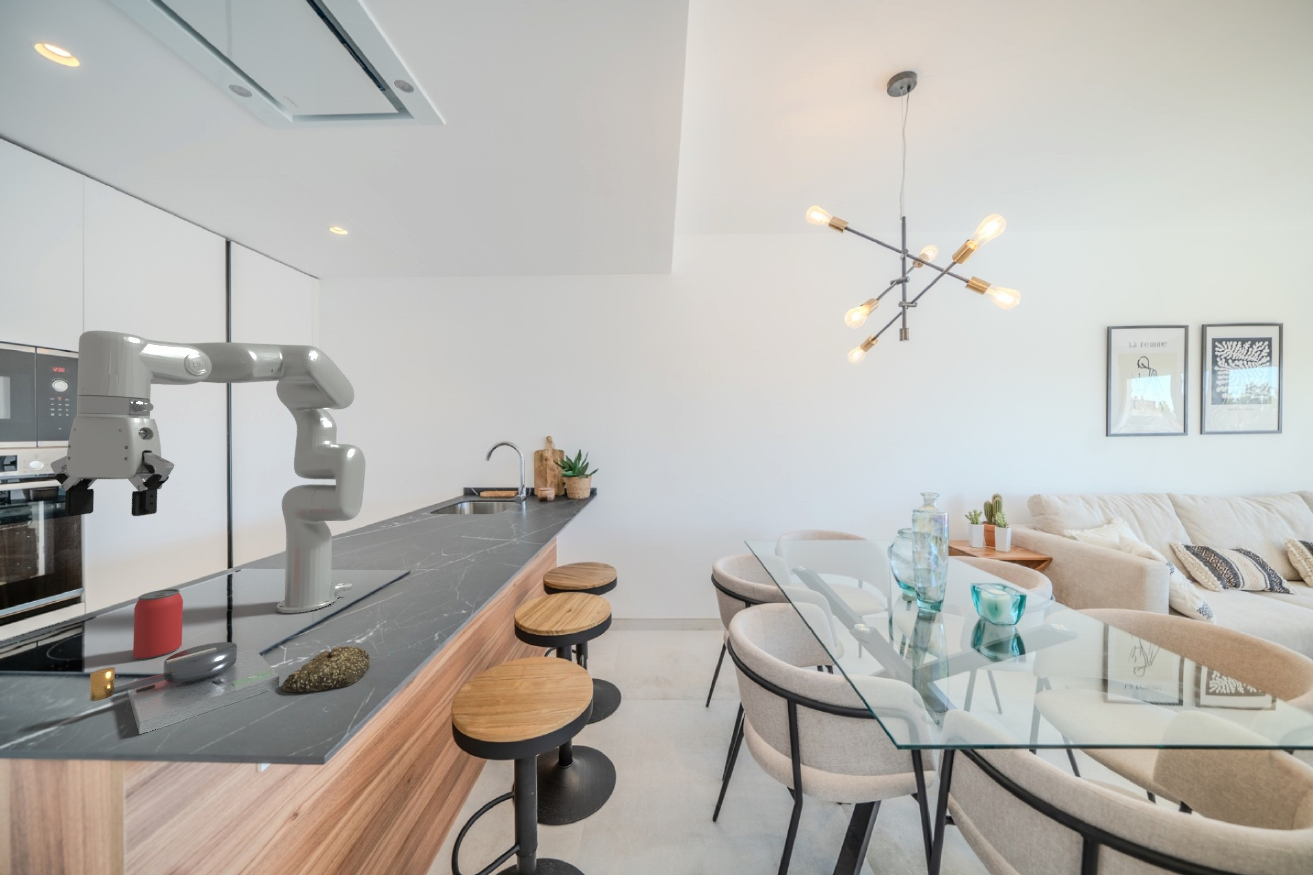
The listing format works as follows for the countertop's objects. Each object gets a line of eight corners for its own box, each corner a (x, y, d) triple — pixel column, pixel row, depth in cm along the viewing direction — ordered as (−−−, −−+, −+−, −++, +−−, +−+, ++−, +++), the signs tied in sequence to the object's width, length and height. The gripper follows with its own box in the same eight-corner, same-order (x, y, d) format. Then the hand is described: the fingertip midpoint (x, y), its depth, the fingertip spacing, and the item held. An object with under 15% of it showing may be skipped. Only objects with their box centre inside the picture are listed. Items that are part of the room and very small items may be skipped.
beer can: (148, 662, 85) (150, 600, 86) (123, 658, 87) (125, 597, 87) (190, 646, 92) (191, 589, 92) (166, 643, 93) (168, 586, 93)
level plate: (253, 658, 88) (253, 644, 88) (279, 687, 78) (279, 672, 78) (128, 694, 75) (128, 679, 75) (139, 735, 65) (139, 717, 65)
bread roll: (351, 691, 77) (352, 663, 77) (271, 698, 75) (271, 669, 75) (383, 656, 90) (383, 632, 90) (314, 661, 87) (315, 636, 87)
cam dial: (230, 651, 84) (230, 630, 85) (242, 665, 79) (242, 643, 79) (88, 690, 71) (89, 665, 71) (91, 710, 66) (91, 683, 66)
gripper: (194, 411, 76) (191, 511, 76) (85, 409, 75) (82, 510, 74) (147, 408, 68) (144, 518, 68) (25, 406, 67) (21, 518, 67)
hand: (112, 514), depth 71 cm, fingers open, 9 cm apart
